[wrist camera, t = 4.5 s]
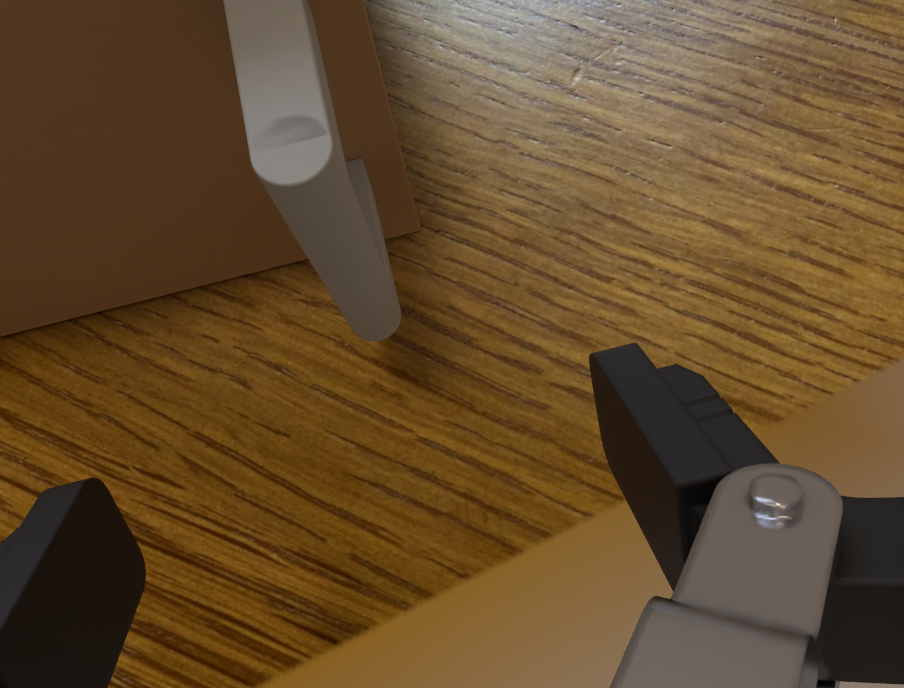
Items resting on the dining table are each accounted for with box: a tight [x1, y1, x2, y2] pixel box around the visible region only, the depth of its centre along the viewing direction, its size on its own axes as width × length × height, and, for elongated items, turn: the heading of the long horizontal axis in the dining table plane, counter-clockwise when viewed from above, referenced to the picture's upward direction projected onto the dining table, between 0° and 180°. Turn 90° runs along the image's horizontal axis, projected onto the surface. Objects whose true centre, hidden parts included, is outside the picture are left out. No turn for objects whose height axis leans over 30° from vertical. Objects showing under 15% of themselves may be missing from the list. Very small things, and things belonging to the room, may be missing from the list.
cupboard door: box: [0, 0, 421, 341], centre depth 20 cm, size 6×18×15 cm, turn 104°
